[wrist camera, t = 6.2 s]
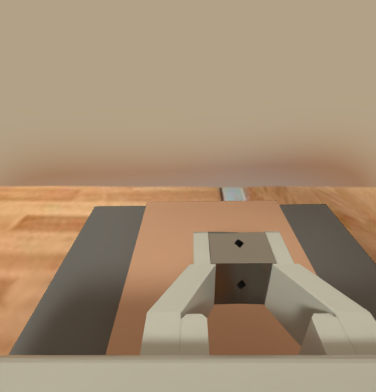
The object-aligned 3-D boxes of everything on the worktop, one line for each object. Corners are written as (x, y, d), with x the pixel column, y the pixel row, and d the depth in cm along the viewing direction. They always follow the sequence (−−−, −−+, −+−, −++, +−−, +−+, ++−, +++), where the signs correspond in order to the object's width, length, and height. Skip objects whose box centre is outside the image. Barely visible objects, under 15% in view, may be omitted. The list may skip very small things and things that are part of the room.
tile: (103, 363, 10) (147, 201, 21) (109, 384, 11) (149, 218, 21) (364, 363, 10) (276, 200, 20) (352, 385, 11) (273, 217, 21)
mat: (-90, 546, 8) (-101, 541, 8) (96, 212, 24) (94, 206, 23) (597, 554, 8) (613, 550, 7) (324, 210, 23) (325, 204, 23)
